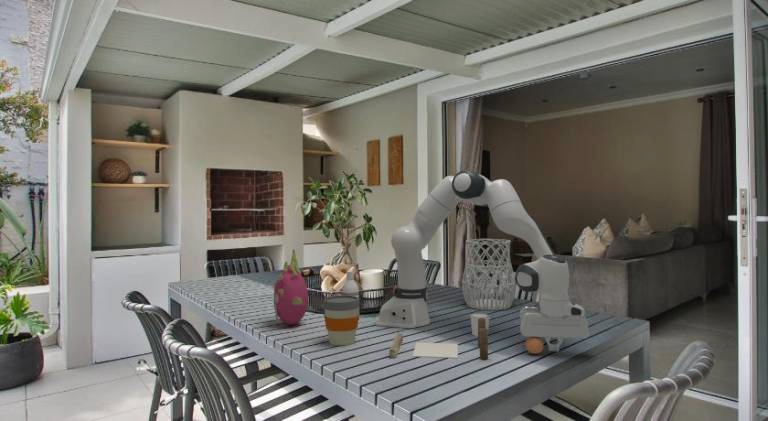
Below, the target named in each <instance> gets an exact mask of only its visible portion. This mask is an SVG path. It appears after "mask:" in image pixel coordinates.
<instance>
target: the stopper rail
mask: <svg viewBox="0 0 768 421" xmlns="http://www.w3.org/2000/svg"><path fill="white" fill-rule="evenodd" d="M403 339H404V337H403V333H396V334H395V337H394V339H393V341H392V344H391V346H390V348H389V358H390V359H397V357H398V354H399V351H400V349H401V346H402V344H403Z"/></svg>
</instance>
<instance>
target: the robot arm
mask: <svg viewBox="0 0 768 421" xmlns="http://www.w3.org/2000/svg"><path fill="white" fill-rule="evenodd" d="M462 201H465V202H467V203H469V204H473V205H475V206H476V207H480V208H481V207H485V208H486V207H488V209H489V212H490V214H491V217H492V220H493V223H494V225H495V226H496V227H497V228H498V230H500V231H502V232H503V233H505V234H508V235H512V236H514V237H516V238H520V239H521V240H523V241H525V242H526V243H527V244H528V245H529V246H530V248H531V250H532V252H533V254H534V255H535V257H536V259H537V260H535V261H532V262H527V263H523V264H520V265H519V266H518V267H517V269H516V271H515V282H516V286H517V287H518V288H519V289H520V290H521V291H522V292H524V293H538V294H539V295H538V296H539V297H538V306H528V305H527V306H524V307H522V308H520V310H519V318H520V324H519V325H520V328H519V332H520V334H521V335H522V336H523V337H528V338H529V337H539V338H544V340H545V341H546V342H545V343H547V347H548V351H549V352H556V353H557V352H558V353H559V352H560V346H561V345H562V343H563V341H564V339H583V340H586V339H587V338H588V337H589V334H590V332H589V331H590V330H589V322H588V319H587V318H586V317H585V314H586V310H585V309H584V307H582V306H581V305H579V304H577V303H574V302H571V301H570V296H569V291H568V290H569V286H570V272H569V265H568V261H567V260H566V259H565V258H564V257H562V256H560V255H557V254H556V253H555V251H554V249H553V248H552V246H551V243H549V241H548V239H547V238H546V235H544V232H543V230H542V229H541V227H540V226H539V225H538V223H536V221H535V220H533V218H531V216H530V215H529V213H527V211H526V209H525V208H524V205H523V204H522V200H521V199H520V197H519V195H518V193H517V192H516V190H515V188H514V187H513V185H512V184H511V183H510V181H508V180H506V179H502V178H501V179H496V180H493V181H491V180H490V179H488V178H487V177H485V176H484V175H482V174H479V173H477V172H476V171H473V170H469V169H463V170H461V171H458V172H457V173H456V174H455V175H447V176H445V177H444V178H443V179H442V180H441V181H439V182H438V183H437V185H435V186H434V188H433V189H432V190H431V191H430V192H429V194H428V195H427V196H426V197H425V199H424V200H423V201H422V203H421V204H420V205H419V206H418V208H417V210H416V212H415V214H414V216H413V218H412V219H411V221H410V222H409V224H408V225H404V226H400V227H399V228H397V229H396V230H395V231H394V233H393V234H392V235H391V240H390V244H391V247H392V249H393V250H394V256H395V260H396V265H397V281H398V282H397V285H398V286H397V285H395V286H394V287H393V288H392V292H393V293H392V295H393V296H392V297H391V298H390V299H389V300H387V301H386V302H385V303H383V305H382V306H381V307H380V311H379V315H378V316H376V317H375V318H374V320H373V324H374V325H375V326H377V327H378V326H379V327H390V328H399V329H400V328H401V329H414V328H417V327H423V326H427V325H429V324H431V320H430V315H429V310H428V304H427V301H428V288H427V285H426V284H427V281H426V280H427V277H426V276H427V274H426V272H427V270H426V265H425V263H424V259H423V252H422V250H424V249H425V248H426V247H427V245H429V243H430V242H431V240H432V238H433V237H434V236H435V235H436V233H437V231H438V230H439V228H440V226H441V225H442V224H443V223H444V222H445V220H446V219H447V218H448V216H449V215H450V214H451V213H452V212H453V210H454V209H455V208H456V207H457V205H458V204H459V203H460V202H462ZM551 338H556V340H557V341H556V342H555V344H551V343H550V341H551Z"/></svg>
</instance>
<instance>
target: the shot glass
mask: <svg viewBox="0 0 768 421" xmlns="http://www.w3.org/2000/svg"><path fill="white" fill-rule="evenodd" d="M469 317H470V322H471V323H470V324H471V334H472V336H475V337H478V319H479V318H484V319H485V320H486V329H488V330H490V329H489V326H490V315H489V314H486V313H481V312H479V313H478V312H477V313H472V314H470V316H469Z"/></svg>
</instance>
